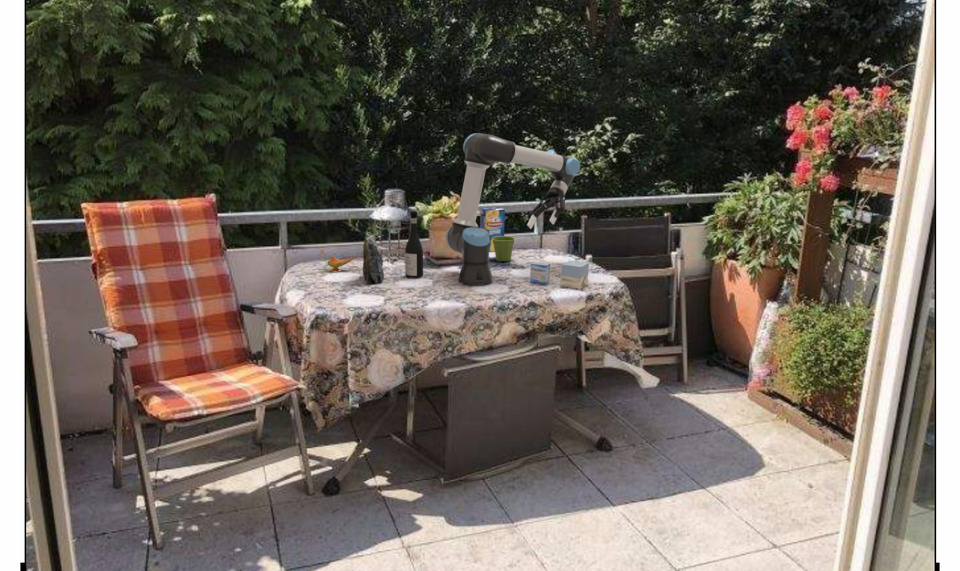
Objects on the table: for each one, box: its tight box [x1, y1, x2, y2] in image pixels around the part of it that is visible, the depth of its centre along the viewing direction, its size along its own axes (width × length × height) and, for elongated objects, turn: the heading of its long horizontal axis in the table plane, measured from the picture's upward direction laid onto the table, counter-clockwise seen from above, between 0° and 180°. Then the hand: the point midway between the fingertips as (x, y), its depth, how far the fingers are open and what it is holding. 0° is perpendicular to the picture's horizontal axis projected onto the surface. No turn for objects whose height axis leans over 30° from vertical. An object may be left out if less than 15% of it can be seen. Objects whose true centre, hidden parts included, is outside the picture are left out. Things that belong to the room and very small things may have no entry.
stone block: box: [362, 234, 385, 285], centre depth 344 cm, size 18×9×20 cm, turn 3°
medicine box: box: [529, 262, 551, 285], centre depth 345 cm, size 8×4×9 cm, turn 68°
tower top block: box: [560, 260, 590, 278], centre depth 340 cm, size 9×9×5 cm
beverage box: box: [479, 206, 506, 253], centre depth 407 cm, size 7×11×22 cm, turn 116°
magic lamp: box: [318, 247, 359, 272], centre depth 360 cm, size 7×18×11 cm, turn 96°
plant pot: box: [492, 235, 516, 262], centre depth 385 cm, size 12×12×11 cm
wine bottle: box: [404, 210, 424, 279], centre depth 349 cm, size 8×8×30 cm
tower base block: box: [560, 273, 589, 290], centre depth 342 cm, size 9×9×5 cm
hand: (540, 224), depth 354 cm, fingers open, 13 cm apart
